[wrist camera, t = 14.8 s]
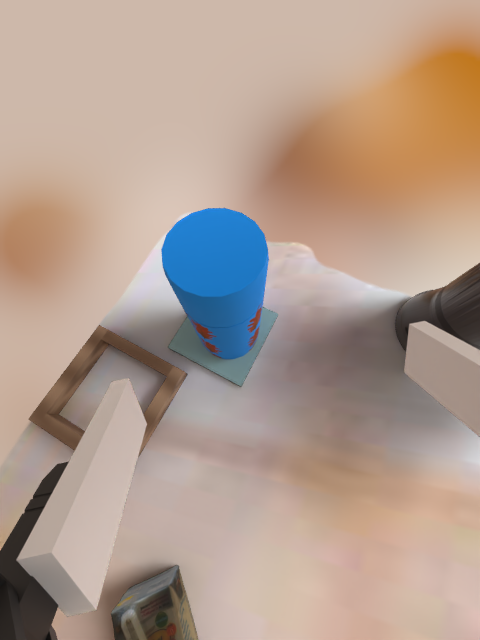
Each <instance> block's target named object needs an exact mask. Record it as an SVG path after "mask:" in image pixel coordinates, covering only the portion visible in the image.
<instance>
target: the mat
mask: <svg viewBox="0 0 480 640" xmlns="http://www.w3.org/2000/svg"><path fill="white" fill-rule="evenodd" d="M277 316H278V314H277V313H275V312H273V311H270V310H268V309H266V308H264V307H262V314H261V321H260V328H259V333H258V337H257V340H256V342H255V344H254V346H253V348H252V349H251V350H250V351H249V352H248V353H246V354H245V355H244V356H242V357H239V358H236V359H222V358H219V357H216V356H214V355H213V354H212V353H211V352H209V351H208V350H207V349H206V348H205V346H204V345H203V344H202V342H201V340H200V338H199V336H198V335H197V333H196V331H195V329H194V327H193V325H192V323H191V322H190V320H189V318H188V316H187V318H186V319H185V321H184V323H183V324H182V326H181V327H180V329H179V330H178V332H177V333H176V335H175V337H174V338H173V340H172V341H171V343H170V344H169V346H168V348H169V349H171V350H173V351H175V352H177V353H179V354H181V355H182V356H184V357H186V358H188V359H190V360H192V361H194V362H195V363H197V364H199V365H201V366H203V367H205V368H207V369H209V370H210V371H212V372H214V373H216V374H218V375H220V376H222V377H224V378H225V379H227V380H229V381H231V382H233V383H235V384H237V385H239V386H240V387H241V386H242V384H243V382H244V381H245V379H246V377H247V375H248V373H249V371H250V369H251V367H252V365H253V363H254V361H255V359H256V357H257V355H258V353H259V351H260V349H261V347H262V345H263V343H264V342H265V340H266V338H267V336H268V334H269V332H270V330H271V328H272V326H273V324H274V322H275V320H276V318H277Z"/></svg>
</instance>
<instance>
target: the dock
mask: <svg viewBox="0 0 480 640" xmlns="http://www.w3.org/2000/svg"><path fill="white" fill-rule="evenodd" d="M109 344H110V345H112V346H113V347H115V348H117V349H119V350H121V351H122V352H124V353H126V354H128V355H129V356H131V357H133V358H135V359H137V360H138V361H140V362H142V363H144V364H146V365H147V366H149V367H151V368H153V369H155V370H156V371H158V372H160V373H162V374H163V375H165V376H167V378H166V379H165V381H164V382H163V384H162V386H161V387H160V389H159V391H158V392H157V394H156V395H155V397H154V399H153V400H152V402H151V403H150V405H149V407H148V408H147V410H146V412H145V413H144V418H145V420H146V423H147V426H146V430H145V433H144V437H143V441H142V444H141V448H140V452H139V455H140V454H141V452H142V450H143V449H144V447H145V445H146V444H147V442H148V440H149V438H150V437H151V435H152V433H153V432H154V430H155V428H156V427H157V425H158V423H159V422H160V420H161V418H162V417H163V415H164V413H165V411H166V410H167V408H168V406H169V405H170V403H171V401H172V400H173V398H174V396H175V395H176V393H177V391H178V389H179V388H180V386H181V384H182V383H183V381H184V379H185V378H186V376H187V374H186V373H185V372H184V371H182V370H181V369H179V368H177V367H175V366H173V365H171V364H170V363H168V362H166V361H164V360H162V359H161V358H159V357H157V356H155V355H153V354H151V353H150V352H148V351H146V350H144V349H142V348H140V347H139V346H137V345H135V344H133V343H131V342H129V341H128V340H126V339H124V338H122V337H120V336H118V335H117V334H115V333H113V332H111V331H109V330H107V329H106V328H104V327H102V326H100V325H99V326H98V327H97V329H96V330H95V331H94V333H93V334H92V335H91V337H90V338H89V339H88V341H87V342H86V343H85V345H84V346H83V347H82V349H81V350H80V351H79V353H78V354H77V355H76V357H75V358H74V359H73V361H72V362H71V363H70V365H69V366H68V367H67V369H66V370H65V371H64V373H63V374H62V375H61V377H60V378H59V379H58V380H57V382H56V383H55V385H54V386H53V387H52V388H51V390H50V391H49V392H48V394H47V395H46V396H45V398H44V399H43V400H42V402H41V403H40V404H39V406H38V407H37V408H36V410H35V411H34V412H33V414H32V415H31V416H30V418H29V420H30V421H32V422H33V423H35V424H36V425H38V426H39V427H41V428H42V429H44V430H45V431H47V432H48V433H50V434H51V435H53V436H54V437H56V438H57V439H59V440H60V441H62V442H63V443H64V444H66V445H67V446H69V447H70V448H72V449H73V450H76V448H77V446H78V444H79V442H80V440H81V438H82V436H83V435H84V433H85V431H83V430H82V429H80V428H79V427H77V426H76V425H74V424H73V423H71V422H70V421H68V420H66V419H65V418H63V417H62V416H60V415H59V413H60V412H61V410H62V409H63V407H64V406H65V405H66V403H67V402H68V400H69V399H70V398H71V396H72V395H73V394H74V392H75V391H76V389H77V388H78V387H79V385H80V384H81V382H82V381H83V380H84V378H85V377H86V376H87V374H88V373H89V371H90V370H91V369H92V367H93V366H94V364H95V363H96V362H97V360H98V359H99V358H100V356H101V355H102V353H103V352H104V351H105V349H106V348H107V346H108V345H109ZM139 455H138V457H139Z"/></svg>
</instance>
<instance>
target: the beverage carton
mask: <svg viewBox="0 0 480 640" xmlns="http://www.w3.org/2000/svg"><path fill="white" fill-rule="evenodd" d="M111 616H112V621H113V628H114V638H115V640H198V636H197V632H196V628H195V624H194V621H193V617H192V613H191V609H190V606H189V602H188V598H187V595H186V591H185V588H184V585H183V581H182V577H181V574H180V569H179V566H178V565H176V566H174V567H173V568H171V569H169V570H167V571H165V572H163V573H161V574H159V575H157V576H155V577H152V578H150V579H148V580H146V581H144V582H142V583H140V584H137V585H135V586H133V587H131V588H129V589H128V590H127V592H126V593H125V594H124V595H123V596H122V598H121V600H120V602H119V603H118V605H117V606H116V607H115V608H114V609H113V611H112V613H111Z"/></svg>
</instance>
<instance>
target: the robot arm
mask: <svg viewBox="0 0 480 640" xmlns="http://www.w3.org/2000/svg"><path fill="white" fill-rule="evenodd" d="M396 332H397V336H398V339H399V341H400V343H401V345H402V346H403V348H404V349H405V351H406V358H405V367H404V373H405V374H406V375H407V376H409V377H410V378H411V379H412V380H413V381H415V382H416V383H417V384H418V385H419V386H420V387H422V388H423V389H424V390H425V391H426V392H427V393H429V394H430V395H431V396H432V397H433V398H434V399H436V400H437V401H438V402H439V403H440V404H442V405H443V406H444V407H445V408H446V409H447V410H449V411H450V412H451V413H452V414H453V415H454V416H456V417H457V418H458V419H459V420H460V421H461V422H463V423H464V424H465V425H466V426H467V427H469V428H470V429H471V430H472V431H473V432H474V433H476V434H477V435H478V436H479V437H480V263H479V264H477V265H476V266H474V267H473V268H471V269H470V270H468V271H467V272H465V273H464V274H462V275H461V276H459V277H458V278H457V279H455V280H454V281H452V282H451V283H449V284H448V285H447V286H445V287H442V288H439V289H436V290H430V291H425V292H422V293H419V294H417V295H415V296H414V297H412V298H411V299H410V300H408V301H407V302H406V303H405V304H404V305H403V306H402V307H401V308H400V310H399V312H398V314H397V317H396ZM146 426H147V423H146V420H145V418H144V415H143V413H142V410H141V407H140V405H139V402H138V400H137V397H136V395H135V392H134V389H133V387H132V384H131V382H130V379H129V378H127V379H122V380H117V381H112V382H111V384H110V386H109V388H108V390H107V392H106V393H105V395H104V397H103V399H102V401H101V403H100V405H99V407H98V408H97V410H96V412H95V414H94V416H93V418H92V420H91V421H90V423H89V425H88V427H87V429H86V431H85V433H84V435H83V436H82V438H81V440H80V442H79V444H78V446H77V448H76V450H75V451H74V453H73V455H72V457H71V459H70V461H69V462H66V463H61V464H57V465H56V466H55V467H54V468H53V469H52V470H51V471H50V473H49V474H48V475H47V476H46V477H45V478H44V479H43V480H42V482H41V484H40V485H39V487H38V489H37V490H36V492H35V494H34V495H33V499H31V500H30V502H29V504H28V505H27V507H26V509H25V513H24V514H22V516H21V517H20V519H19V521H18V522H17V524H16V526H15V527H14V529H13V531H12V532H11V534H10V536H9V537H8V539H7V541H6V542H5V544H4V546H3V547H2V549H1V551H0V640H57V636H56V632H55V630H54V629H53V627H52V626H51V624H52V621H53V619H54V616H55V613H56V611H57V608H58V607H59V608H60V609H61V611H62V612H63V613H64V614H65V615H66V616H67V617H69V616H74V615H78V614H83V613H87V612H91V611H96V610H97V606H98V603H99V599H100V595H101V592H102V588H103V584H104V581H105V577H106V573H107V570H108V566H109V562H110V559H111V555H112V551H113V547H114V544H115V540H116V536H117V533H118V529H119V525H120V522H121V518H122V514H123V511H124V507H125V503H126V500H127V496H128V492H129V489H130V485H131V481H132V477H133V474H134V470H135V466H136V463H137V459H138V455H139V452H140V448H141V444H142V441H143V437H144V433H145V430H146Z"/></svg>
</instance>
